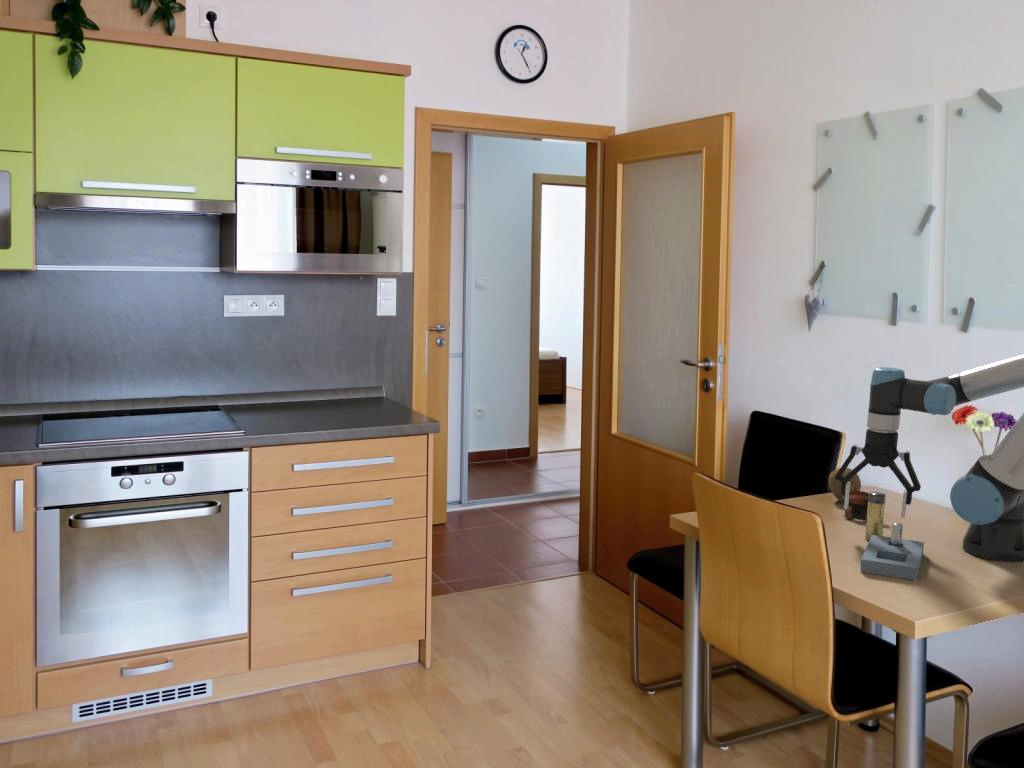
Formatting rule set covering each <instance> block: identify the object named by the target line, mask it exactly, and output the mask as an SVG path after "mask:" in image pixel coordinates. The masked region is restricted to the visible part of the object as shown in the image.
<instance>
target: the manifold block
mask: <svg viewBox="0 0 1024 768" xmlns="http://www.w3.org/2000/svg"><path fill="white" fill-rule="evenodd" d="M867 542H868V543H867V545H866V547H865V550H864V552H863V554H862V556H861V560H860V568H859V569H860V571H862V572H861V573H864V572H867V573H866V574H870V573H871V574H872V575H876V574H878V575H877V576H883V575H886V576H885V577H889V576H892V577H891V578H895V577H899V578H898V579H902V578H906V579H905V580H908V579H912V580H911V581H914V580H917V581H918V577H919V574H920V570H921V566H922V565H921V564H922V561H923V560H922V559H923V557H924V547H925V541H919V540H911V539H906V538H902V540H901V547H898V546H892V545H890V543H891V536H883V535H882V536H878V535H871V538H870V540H869V541H867ZM922 556H923V557H922ZM919 569H920V570H919ZM918 573H919V574H918Z"/></svg>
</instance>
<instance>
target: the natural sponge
mask: <svg viewBox="0 0 1024 768" xmlns="http://www.w3.org/2000/svg"><path fill="white" fill-rule="evenodd" d="M840 468H841V467H838V468H836V469H833V470H832V472H830V473H829V476H828V486H829V488H830V492H831V494H832V495H833V496H834V498H836V499H837V500H838V501H839V502H840V501H841V499H842V498H843V495H841V486H842V483H841V481H839V480H836V479H835V476H836V474H837V473H838V471H839V470H840ZM852 470H853V468H850V467H847V468H846V470H845V471H844V473H843V474H842V476H844V477H845V476H846V475H847V474H848V473H849V472H850V471H852ZM861 481H862V480H861V479H860V476H859V474H858V473H857V474H856V475H854V476H853V477H852V478H851V479H850V480H849V481H848V482H851V484H850V491H861V487H862V482H861Z"/></svg>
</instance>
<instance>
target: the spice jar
mask: <svg viewBox="0 0 1024 768" xmlns="http://www.w3.org/2000/svg"><path fill="white" fill-rule="evenodd" d="M868 493H869V497H868V510H867V521H865V536H864V540H865V541H866V540H867V541H866V542H869V540H870V538H871V535H878V536H883V532H884V522H885V521H884V519H885V508H886V507H885V506H886V496H887V495H886V493H884V492H878V491H870V492H868Z"/></svg>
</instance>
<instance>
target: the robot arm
mask: <svg viewBox="0 0 1024 768" xmlns="http://www.w3.org/2000/svg"><path fill="white" fill-rule="evenodd" d="M869 386H870V390H869V399H868V400H869V402H868V403H869V404H868V411H867V419H866V427H867V429H866V430H865V431H866V432H865V439H864V441H865V442H864V446H863V447H862V446H858V445H857V444H852V446H851V448H850V450H849V451H850V452H849V455H848V457H847V458H845V459H846V460H845V461H844V462H843V464H841V467H839V468H840V470H839V471H838V473H837V474H836V476H835V479H836V480H839V481H841V483H842V486H841V495H845V502H844V503H843V509H844V510H848V508H849V506H848V504H849V494H850V484H851V482H848V481H849V480H850V479H851V478H852V477H853V476H854V475H856V474H858V473H859V472H860V471H862V470H863V469H864V468H866V466H867V465H871V466H872V467H881V468H887V467H888V468H889V469H890V470H891V471H892V472H893V474H894V475H895V476H896V478H897V480H898V481H899V482H900V483H901V485H902V486H903V488H904V490H903V492H902V493H903V494H902V502H901V503H902V504H901V512H900V513H901V514H900V518H902V519H905V517H906V509H907V508H906V507H907V505H908V506H910V505H911V503H912V499H913V492H919V491H920V490H921V488H922V487H921V483H920V481H919V478H918V476H917V474H916V471H915V468H914V466H913V464H912V461H911V452H910V451H909V450H906V451H898V440H899V433H898V430H899V429H900V421H901V410H907V411H913V412H914V411H915V412H920V413H925V414H930V415H934V416H936V415H939V416H940V415H941V416H947V415H949V414H952V411H953V410H954V408H955V407H958V406H960V405H963V404H966V403H970V402H973V401H977V400H980V399H984V398H988V397H991V396H992V397H993V396H995V395H1000V394H1002V393H1007V392H1010V391H1014V390H1018V389H1021V388H1024V353H1023V354H1019V355H1015V356H1012V357H1009V358H1005V359H1001V360H999V361H995V362H992V363H989V364H985V365H982V366H979V367H975V368H971V369H968V370H965V371H962V372H958V373H955V374H951V375H947V376H944V377H943V376H942V377H940V378H936V379H931V380H927V381H926V380H918V379H910V378H906V375H905V371H904V370H903V369H901V368H896V367H884V366H880V367H877V368H876V367H875V368H874V369H873V371H872V376H871V380H870V385H869ZM860 453H862V455H863V456H864V459H863V460H862V461H861V462H860V463H859V464H858V465H856V466H855V467H854V468H852V471H850V472H849V473H848V474H847V475H846V476H845V477H844V476H842V474H843V473H844V471H845V470H846V468H849V465H850V464H851V462H852V461H853V459H854V458H855V456H859V454H860ZM898 457H899V458H900V461H902V462H904V465H905V468H906V470H907V472H908V476H909V478H910V480H911V482H912V484H911V483H910V482H909V480H908V479H907V477H906V476H905V475H904V473H903V472H902V471H901V469H900V467H898V465H897V463H896V462H895V460H896V459H897V458H898ZM950 489H951V490H950V495H949V497H950V503H951V506H952V508H953V511H954V512H955V513H956V514H957V516H959V518H961V519H962V520H964V521H965V522H967V523H969V525H968V528H967V530H966V533H965V535H964V537H963V539H962V549H963V551H965V552H967V553H968V554H971V555H973V556H976V557H980V558H985V559H988V560H993V561H1001V562H1024V412H1023V413H1022V414H1021V415H1020V417H1019V418H1018V419H1017V420H1016V421H1015V423H1014V424H1013V426H1012V427H1011V429H1010V430H1009V431H1008V432H1007V434H1006V435H1005V436H1004V437H1003V439H1002V440H1001V441H1000V442H999V444H998V445H997V446H996V447H995V448H994V450H993V452H992V453H991V454H986V455H980V456H979V457H978V459H977V460H976V462H975V463H974V464H973V465H972V466H971V468H969V470H968V472H966V474H965V475H963V476H961V477H959V478H958V479H956V481H955V482H954V484H953V485H952V487H951V488H950Z"/></svg>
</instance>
